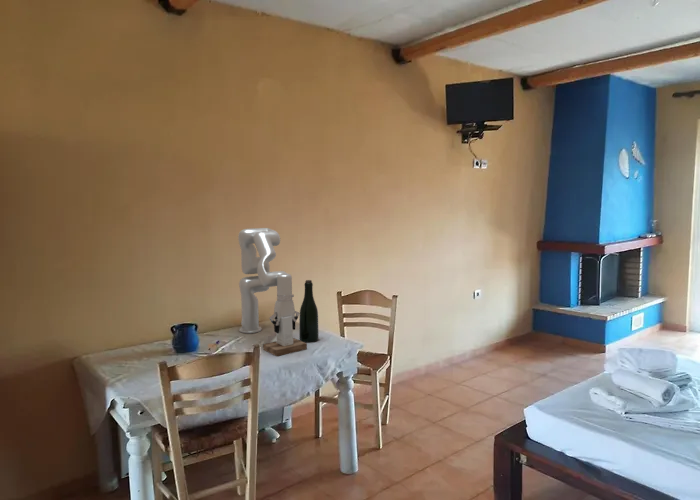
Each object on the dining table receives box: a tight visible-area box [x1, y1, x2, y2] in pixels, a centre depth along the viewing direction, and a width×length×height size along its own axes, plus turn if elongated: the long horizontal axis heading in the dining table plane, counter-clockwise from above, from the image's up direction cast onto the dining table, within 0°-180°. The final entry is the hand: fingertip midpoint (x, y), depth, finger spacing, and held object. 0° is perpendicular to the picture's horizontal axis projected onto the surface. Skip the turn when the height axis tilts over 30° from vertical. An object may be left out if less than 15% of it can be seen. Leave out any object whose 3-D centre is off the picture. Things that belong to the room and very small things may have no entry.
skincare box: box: [275, 316, 294, 346], centre depth 264 cm, size 8×6×15 cm
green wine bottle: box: [298, 279, 320, 343], centre depth 280 cm, size 10×10×33 cm
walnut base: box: [262, 337, 308, 357], centre depth 266 cm, size 13×18×3 cm
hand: (284, 330), depth 264 cm, fingers open, 9 cm apart
